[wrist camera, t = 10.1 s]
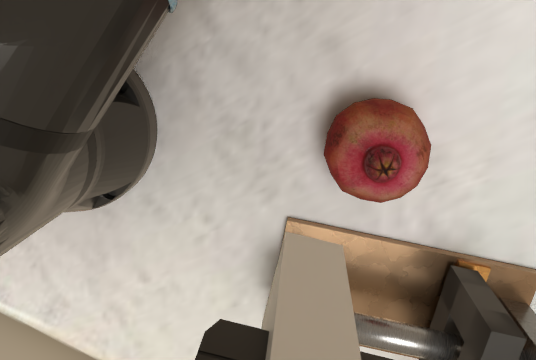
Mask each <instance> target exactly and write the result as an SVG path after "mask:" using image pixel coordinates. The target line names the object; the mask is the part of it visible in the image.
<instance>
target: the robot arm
mask: <svg viewBox="0 0 536 360" xmlns="http://www.w3.org/2000/svg"><path fill="white" fill-rule="evenodd" d="M176 6H177V0H0V256H2V255H3V254H4V253H6V252H7V251H9V250H10V249H12V248H13V247H14V246H16V245H17V244H19V243H20V242H22V241H23V240H24V239H26V238H27V237H29V236H30V235H31V234H33V233H34V232H36V231H37V230H39V229H40V228H41V227H43V226H44V225H46V224H47V223H49V222H50V221H51V220H53V219H54V218H56V217H57V216H59V215H60V214H61V213H63V212H75V211H86V210H92V209H96V208H99V207H102V206H105V205H107V204H109V203H111V202H113V201H115V200H117V199H118V198H120V197H121V196H122V195H124V194H125V193H126V192H127V191H129V190H130V189H131V188H132V187H133V186H134V185H136V184H137V183H138V181H139V180H140V179H141V178H142V177H143V175H144V174H145V172H146V171H147V169H148V167H149V165H150V163H151V160H152V158H153V155H154V151H155V147H156V140H157V123H156V116H155V111H154V107H153V104H152V101H151V98H150V96H149V94H148V92H147V90H146V88H145V86H144V84H143V83H142V81H141V79H140V78H139V77H138V75H137V74H136V73H135V72H134V70H133V68H134V66H135V64H136V63H137V61H138V60H139V58H140V56H141V55H142V53H143V52H144V50H145V48H146V47H147V45H148V43H149V42H150V40H151V39H152V37H153V35H154V34H155V32H156V31H157V29H158V27H159V26H160V24H161V23H162V21H163V19H164V18H165V16H166V15H167V13H168V12H170V13H172V12H173V11H174V9H175V8H176ZM195 360H393V359H389V358H385V357H381V356H377V355H372V354H368V353H364V352H360V349H359V342H358V336H357V330H356V324H355V318H354V312H353V305H352V299H351V293H350V287H349V281H348V275H347V269H346V262H345V256H344V250H343V245H340V244H336V243H331V242H327V241H323V240H319V239H315V238H311V237H307V236H303V235H298V234H294V233H290V232H285V236H284V240H283V244H282V248H281V252H280V256H279V259H278V263H277V267H276V271H275V275H274V279H273V283H272V287H271V291H270V295H269V298H268V302H267V306H266V310H265V314H264V318H263V322H262V328H261V329H259V328H255V327H251V326H247V325H242V324H238V323H234V322H230V321H226V320H222V319H220V320H219V321H218V322H216V323H215V324H214V325H213V326H212V327H210V328H209V329H208V330H207V331H205V333H204V336H203V339H202V342H201V344H200V347H199V350H198V354H197V356H196V358H195Z"/></svg>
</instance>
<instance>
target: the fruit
mask: <svg viewBox="0 0 536 360" xmlns="http://www.w3.org/2000/svg"><path fill="white" fill-rule="evenodd" d="M430 150H431V144H430V141H429V138H428V135H427V133H426V130H425V127H424V125H423V123H422V122H421V120H420V119H419V117H418V116H417V114H416V113H415V111H414V110H413V108H410V107H408V106H405V105H403V104H401V103H398V102H396V101H393V100H390V99H375V98H373V99H368V100H364V101H360V102H355V103H353V104H352V105H350V106H349V107H348V108H346V109H345V110H343V111H342V112H340V113H339V114H338V115H336V117H335V119H334V121H333V123H332V125H331V127H330V129H329V131H328V133H327V139H326V144H325V149H324V156H325V159H326V162H327V165H328V167H329V170H330V173H331V175H332V176H333V178H334V179H335V181H336V183H337V184H338V186H339V187H340V189H341V190H342V191H343V192H346V193H348V194H350V195H353V196H355V197H357V198H359V199H363V200H368V201H374V202H380V203H381V202H385V201H389V200H393V199H397V198H401V197H402V196H404V195H405V194H406V193H408V192H409V191H411V190H412V189H414V188H415V187H416V186H417V185H418V183H419V182H420V180H421V178H422V177H423V175H424V173H425V172H426V170H427V168H428V163H429V156H430Z"/></svg>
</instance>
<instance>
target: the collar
mask: <svg viewBox="0 0 536 360" xmlns="http://www.w3.org/2000/svg"><path fill="white" fill-rule="evenodd" d="M430 328H431V329H436V330H440V331H445V332H450V333H454V334H459V335H461V336H462V338H463V340H464V344H463V347H462V350H461V353H460V355H459V358H458V360H519V357H520V355H521V352H522V350H523V347H524V345H525V342H526V340H527V338H526V337H525V336H524V334H523V333H522V332H521V330H520V329H519V327H518V326H517V325H516V323H515V322H514V320H513V319H512V318H511V316H510V315H509V313H508V312H507V311H506V309H505V308H504V307H503V305H502V304H501V302H500V301H499V300H498V298H497V297H496V295H495V294H494V293H493V291H492V290H491V288H490V287H489V286H488V284H487V283H486V282H485V280H484V279H483V277H482V276H481V275H480V273H479V272H478V271H476V270H471V269H467V268H462V267H457V266H452V265H450V268H449V271H448V274H447V277H446V280H445V283H444V286H443V289H442V292H441V295H440V298H439V301H438V304H437V307H436V310H435V313H434V316H433V319H432V322H431V325H430ZM419 360H429V359H424V358H419Z"/></svg>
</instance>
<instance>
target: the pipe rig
mask: <svg viewBox="0 0 536 360" xmlns="http://www.w3.org/2000/svg"><path fill="white" fill-rule="evenodd" d="M285 232H290V233H294V234H298V235H303V236H307V237H311V238H315V239H319V240H323V241H327V242H331V243H336V244H340V245H343V250H344V256H345V262H346V269H347V275H348V281H349V287H350V293H351V299H352V305H353V312H354V318H355V324H356V330H357V336H358V342H359V346H363V347H367V348H372V349H377V350H381V351H386V352H390V353H395V354H399V355H404V356H408V357H413V358H418V359H419V358H424V359H429V360H458V358H459V355H460V353H461V350H462V347H463V344H464V340H463V338H462V336H461V335H459V334H454V333H450V332H445V331H440V330H436V329H431V328H430V325H431V322H432V319H433V316H434V313H435V310H436V307H437V304H438V301H439V298H440V295H441V292H442V289H443V286H444V283H445V280H446V277H447V274H448V271H449V268H450V265H452V266H457V267H462V268H467V269H471V270H476V271H478V272H479V273H480V275H481V276H482V277H483V279H484V280H485V282H486V283H487V284H488V286H489V287H490V288H491V290H492V291H493V293H494V294H495V295H496V297H497V298H498V300H499V301H500V302H501V304H502V305H503V307H504V308H505V309H506V311H507V312H508V313H509V315H510V316H511V318H512V319H513V320H514V322H515V323H516V325H517V326H518V327H519V329H520V330H521V332H522V333H523V334H524V336H525V337H526V338H527V340H526V342H525V345H524V347H523V350H522V352H521V355H520V357H519V360H536V314H535V313H534V311H533V310H532V309H531V308H530V304H531V301H532V299H533V296H534V294H535V291H536V269H532V268H527V267H522V266H517V265H513V264H508V263H503V262H498V261H494V260H489V259H484V258H480V257H475V256H470V255H465V254H461V253H456V252H451V251H447V250H442V249H437V248H432V247H428V246H423V245H418V244H413V243H409V242H404V241H399V240H395V239H390V238H385V237H380V236H376V235H371V234H366V233H362V232H357V231H352V230H347V229H343V228H338V227H333V226H328V225H324V224H319V223H314V222H310V221H305V220H300V219H295V218H291V217H288V219H287V223H286V228H285ZM284 236H285V233H284ZM283 240H284V237H283ZM282 244H283V242H282ZM281 248H282V246H281ZM280 252H281V251H280Z"/></svg>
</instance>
